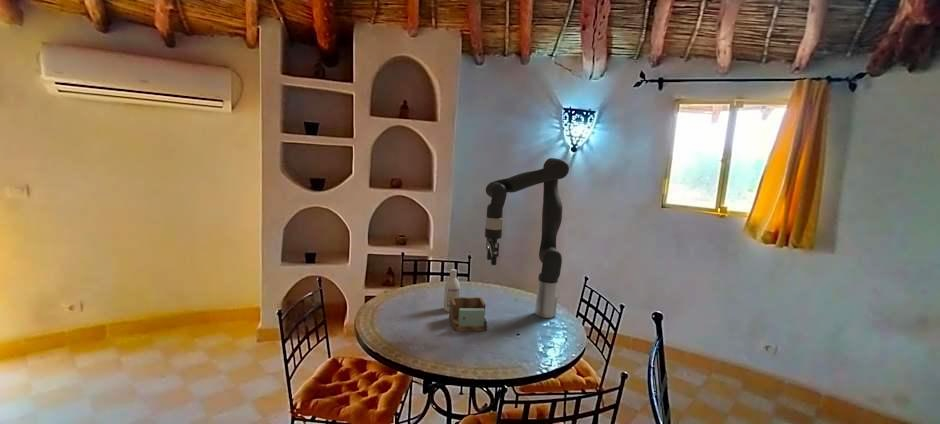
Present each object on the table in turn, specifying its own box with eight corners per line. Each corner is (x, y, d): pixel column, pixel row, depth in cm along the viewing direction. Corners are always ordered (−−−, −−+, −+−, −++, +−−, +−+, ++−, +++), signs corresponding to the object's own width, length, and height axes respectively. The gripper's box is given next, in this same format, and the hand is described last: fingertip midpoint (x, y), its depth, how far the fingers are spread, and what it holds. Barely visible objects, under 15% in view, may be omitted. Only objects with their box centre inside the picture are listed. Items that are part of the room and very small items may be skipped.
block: (482, 327, 224) (483, 308, 222) (483, 330, 221) (485, 310, 219) (457, 327, 222) (459, 308, 220) (458, 330, 219) (460, 310, 217)
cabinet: (479, 317, 234) (481, 297, 232) (486, 330, 220) (488, 309, 219) (448, 318, 231) (450, 297, 230) (453, 330, 218) (455, 309, 216)
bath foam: (460, 310, 241) (463, 270, 238) (449, 313, 237) (452, 272, 233) (452, 306, 246) (455, 266, 243) (440, 308, 242) (443, 268, 238)
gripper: (505, 230, 218) (503, 266, 221) (498, 223, 232) (495, 257, 235) (489, 230, 217) (486, 266, 220) (482, 223, 231) (480, 257, 234)
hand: (491, 262), depth 228 cm, fingers open, 8 cm apart
